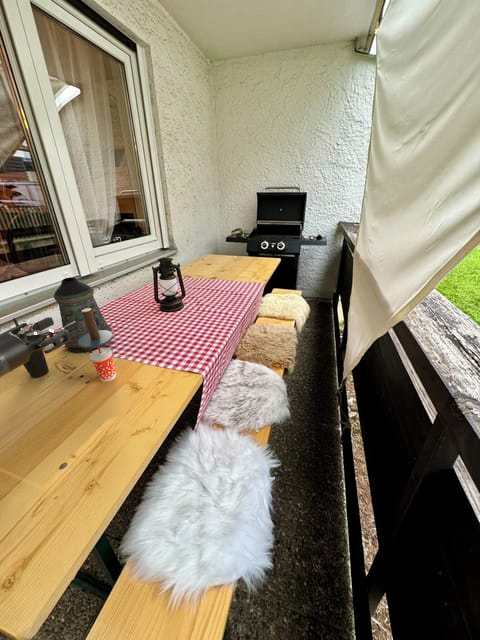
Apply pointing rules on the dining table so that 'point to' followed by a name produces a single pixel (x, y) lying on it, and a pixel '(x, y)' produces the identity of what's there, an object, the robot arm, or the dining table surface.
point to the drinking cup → (35, 362)
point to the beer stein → (78, 310)
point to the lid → (93, 332)
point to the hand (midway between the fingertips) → (64, 322)
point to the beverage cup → (103, 364)
